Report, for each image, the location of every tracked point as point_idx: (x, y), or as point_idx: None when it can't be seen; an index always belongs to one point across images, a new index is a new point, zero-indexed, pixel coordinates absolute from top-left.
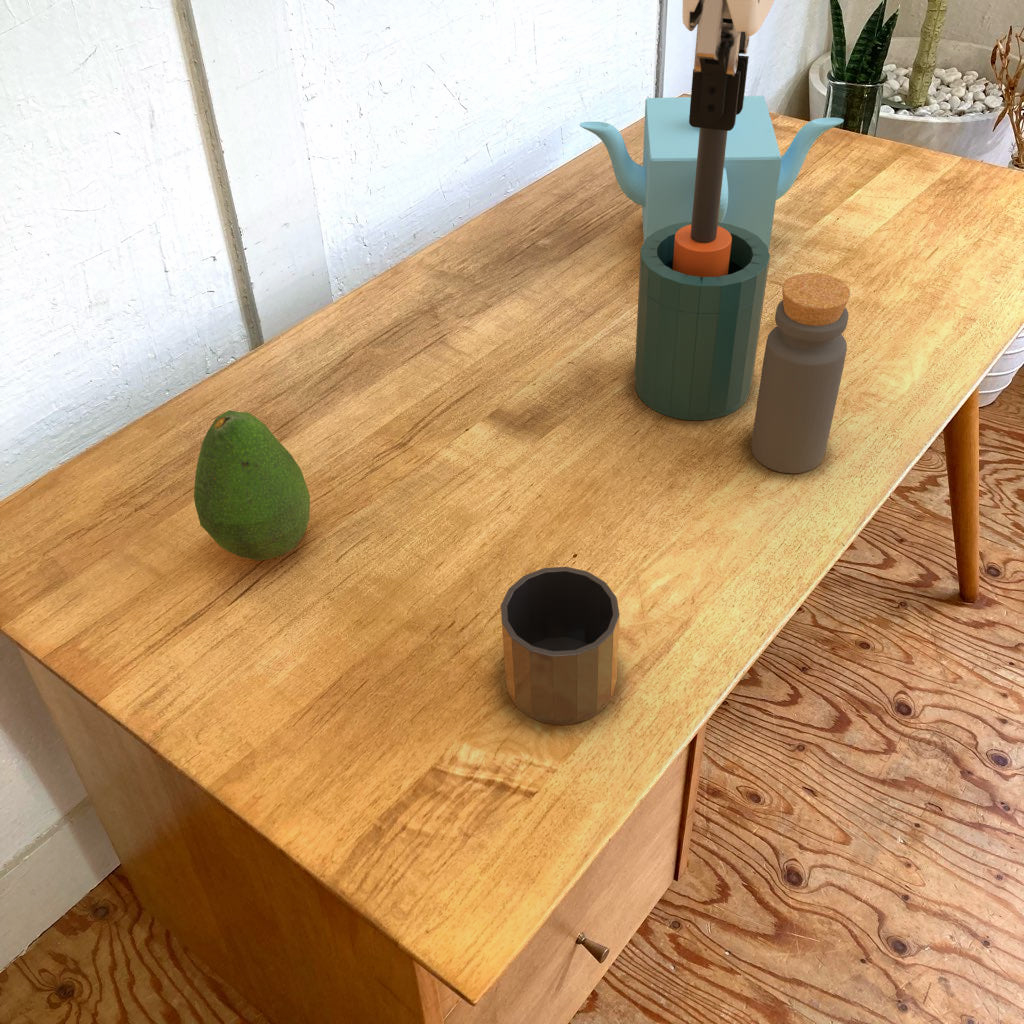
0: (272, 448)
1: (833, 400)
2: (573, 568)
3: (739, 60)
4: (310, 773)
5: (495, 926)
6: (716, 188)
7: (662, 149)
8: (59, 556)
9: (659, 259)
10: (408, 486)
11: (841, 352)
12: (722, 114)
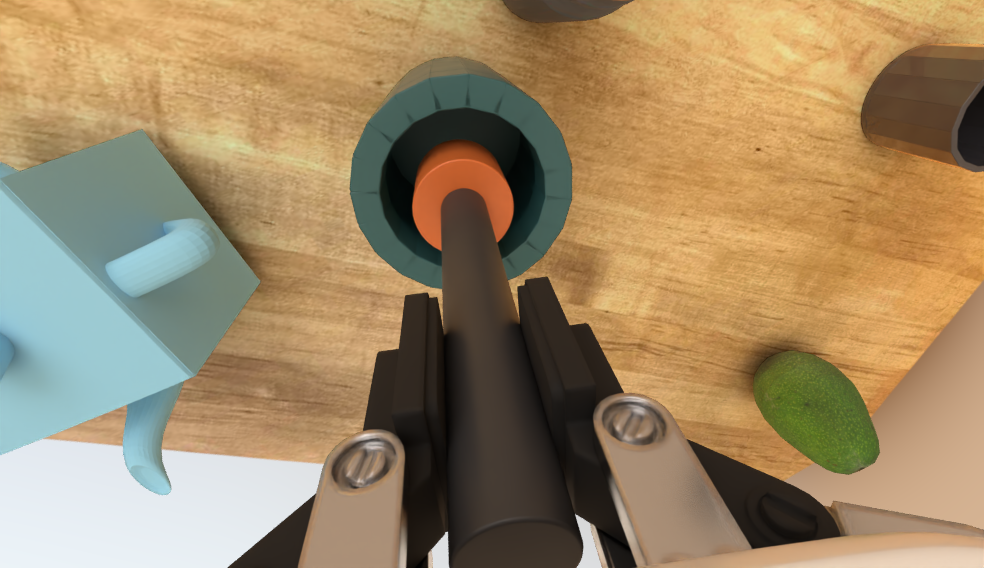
0: (848, 423)
1: None
2: (954, 124)
3: (430, 426)
4: (980, 232)
5: None
6: (486, 232)
7: (147, 375)
8: (791, 455)
9: (513, 251)
10: (691, 317)
11: None
12: (572, 327)
